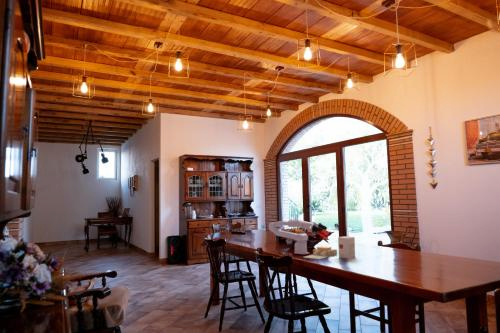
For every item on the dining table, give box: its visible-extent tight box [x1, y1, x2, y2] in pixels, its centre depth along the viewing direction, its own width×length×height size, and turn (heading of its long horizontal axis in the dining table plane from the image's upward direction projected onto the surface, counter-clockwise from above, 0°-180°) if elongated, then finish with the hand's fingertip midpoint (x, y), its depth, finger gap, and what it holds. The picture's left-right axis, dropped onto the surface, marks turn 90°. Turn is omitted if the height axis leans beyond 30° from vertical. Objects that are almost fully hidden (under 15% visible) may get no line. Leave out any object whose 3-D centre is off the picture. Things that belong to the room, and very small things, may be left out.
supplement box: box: [337, 236, 356, 260], centre depth 265 cm, size 9×9×15 cm
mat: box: [303, 254, 329, 260], centre depth 268 cm, size 14×13×1 cm
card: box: [316, 245, 332, 251], centre depth 277 cm, size 9×6×2 cm, turn 46°
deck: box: [312, 248, 338, 258], centre depth 278 cm, size 14×12×4 cm
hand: (324, 229), depth 276 cm, fingers open, 7 cm apart
